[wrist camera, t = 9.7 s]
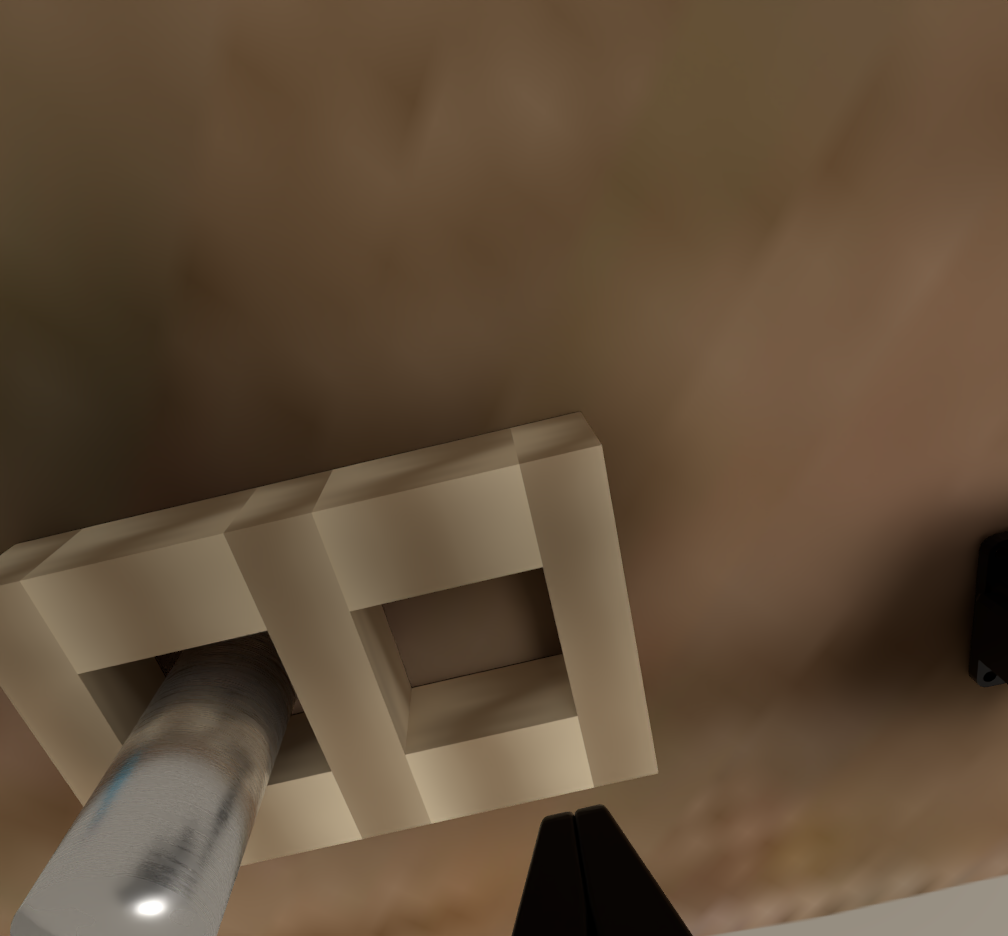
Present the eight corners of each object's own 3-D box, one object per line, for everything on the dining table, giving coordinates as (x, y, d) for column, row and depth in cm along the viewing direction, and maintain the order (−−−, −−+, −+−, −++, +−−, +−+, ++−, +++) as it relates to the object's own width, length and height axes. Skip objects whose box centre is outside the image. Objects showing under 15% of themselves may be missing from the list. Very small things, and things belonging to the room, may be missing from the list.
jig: (580, 411, 19) (601, 444, 16) (634, 707, 23) (658, 773, 21) (15, 544, 19) (-60, 599, 16) (176, 810, 24) (140, 888, 21)
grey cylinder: (282, 601, 21) (163, 860, 12) (321, 692, 22) (239, 978, 14) (166, 628, 21) (-29, 903, 12) (214, 717, 22) (68, 1015, 14)
